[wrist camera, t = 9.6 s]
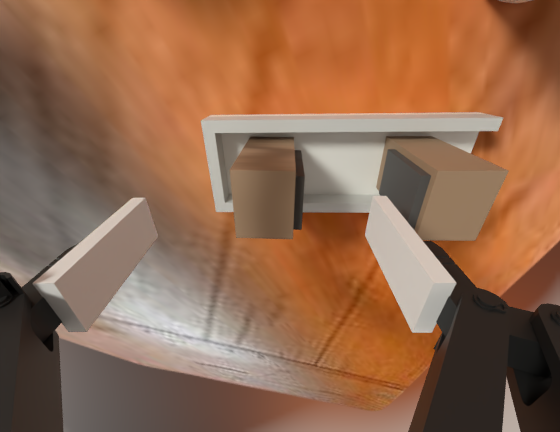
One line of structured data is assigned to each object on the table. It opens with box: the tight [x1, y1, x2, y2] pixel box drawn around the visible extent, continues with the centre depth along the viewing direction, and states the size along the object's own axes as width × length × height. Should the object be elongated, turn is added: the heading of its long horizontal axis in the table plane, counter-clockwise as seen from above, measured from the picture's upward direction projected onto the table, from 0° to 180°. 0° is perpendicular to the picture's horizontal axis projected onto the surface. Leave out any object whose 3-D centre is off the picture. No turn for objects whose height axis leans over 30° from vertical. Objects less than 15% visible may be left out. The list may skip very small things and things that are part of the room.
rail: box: [201, 112, 508, 241], centre depth 20 cm, size 24×9×10 cm, turn 91°
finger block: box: [230, 136, 305, 239], centre depth 20 cm, size 5×5×9 cm
